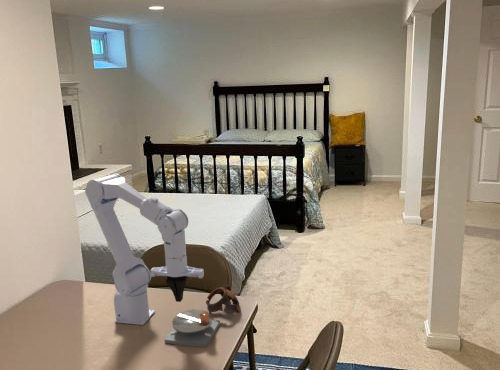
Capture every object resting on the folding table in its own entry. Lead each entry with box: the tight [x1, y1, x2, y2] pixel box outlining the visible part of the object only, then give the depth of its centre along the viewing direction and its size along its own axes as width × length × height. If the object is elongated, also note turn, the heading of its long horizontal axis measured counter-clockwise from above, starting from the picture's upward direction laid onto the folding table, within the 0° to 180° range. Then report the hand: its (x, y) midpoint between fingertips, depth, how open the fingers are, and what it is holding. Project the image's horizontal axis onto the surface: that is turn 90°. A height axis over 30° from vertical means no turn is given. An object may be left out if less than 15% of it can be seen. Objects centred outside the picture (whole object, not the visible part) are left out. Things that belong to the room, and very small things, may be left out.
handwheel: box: [172, 309, 213, 334], centre depth 127 cm, size 11×11×6 cm
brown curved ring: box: [205, 283, 241, 313], centre depth 140 cm, size 12×10×8 cm
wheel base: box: [164, 319, 221, 348], centre depth 128 cm, size 12×12×1 cm
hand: (179, 300), depth 127 cm, fingers closed
